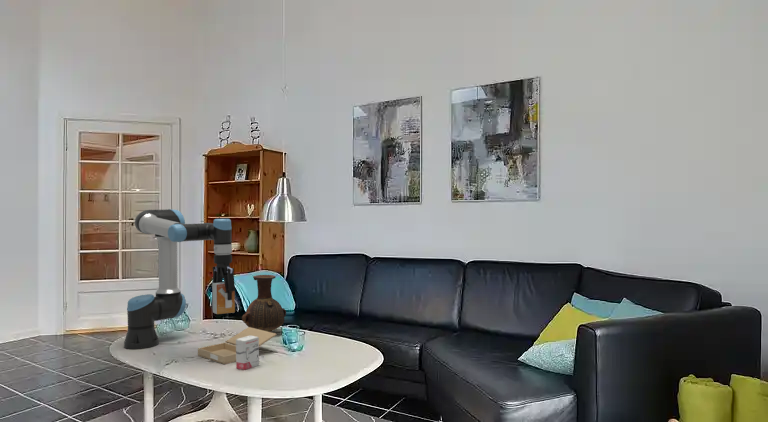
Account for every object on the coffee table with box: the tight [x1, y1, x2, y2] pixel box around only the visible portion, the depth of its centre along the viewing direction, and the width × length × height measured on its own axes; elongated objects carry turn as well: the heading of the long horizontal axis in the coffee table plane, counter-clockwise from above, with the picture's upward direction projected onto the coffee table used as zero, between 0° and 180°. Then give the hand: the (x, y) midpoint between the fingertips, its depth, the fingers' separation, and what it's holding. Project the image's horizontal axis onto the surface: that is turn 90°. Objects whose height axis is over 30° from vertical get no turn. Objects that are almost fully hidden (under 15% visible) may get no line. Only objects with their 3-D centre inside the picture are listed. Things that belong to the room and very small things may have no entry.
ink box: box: [235, 336, 260, 371], centre depth 224 cm, size 9×5×12 cm, turn 148°
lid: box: [224, 326, 277, 347], centre depth 250 cm, size 22×14×1 cm, turn 47°
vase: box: [241, 274, 287, 333], centre depth 283 cm, size 25×20×30 cm
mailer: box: [197, 342, 236, 365], centre depth 240 cm, size 21×14×3 cm, turn 47°
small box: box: [211, 281, 236, 315], centre depth 240 cm, size 8×6×13 cm
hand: (223, 306), depth 240 cm, fingers closed on small box, 7 cm apart
